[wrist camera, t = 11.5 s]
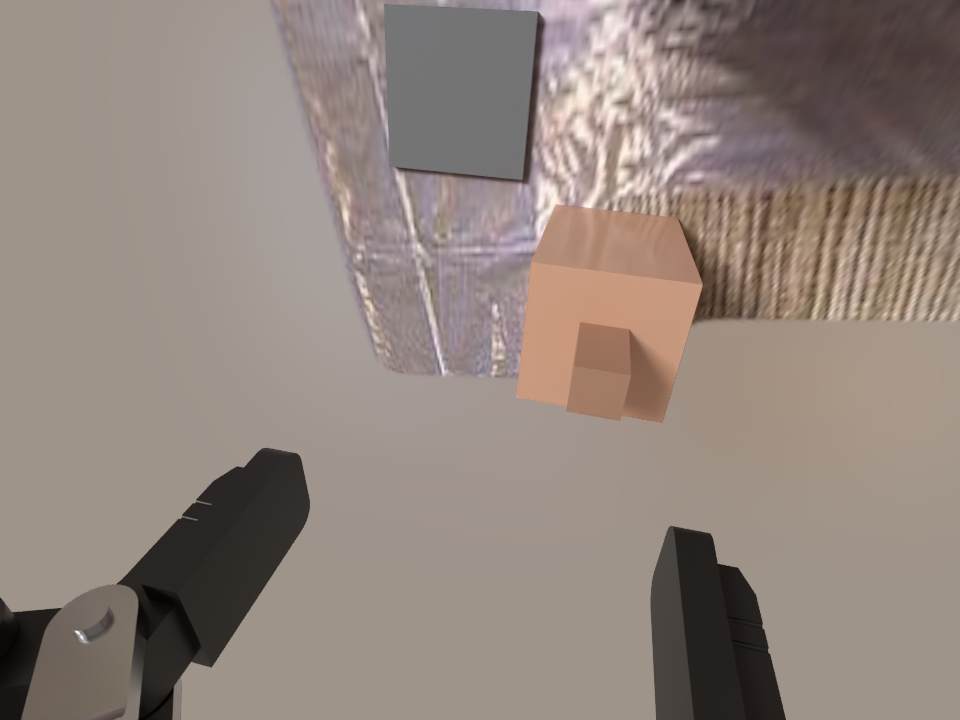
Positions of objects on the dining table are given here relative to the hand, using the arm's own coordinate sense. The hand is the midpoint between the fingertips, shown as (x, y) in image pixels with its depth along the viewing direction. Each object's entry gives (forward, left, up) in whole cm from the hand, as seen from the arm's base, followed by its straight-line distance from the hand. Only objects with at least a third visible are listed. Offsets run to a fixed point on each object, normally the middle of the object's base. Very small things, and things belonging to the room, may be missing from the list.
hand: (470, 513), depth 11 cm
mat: (+3, -10, -31) cm, 33 cm away
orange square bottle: (+1, +6, -31) cm, 32 cm away
